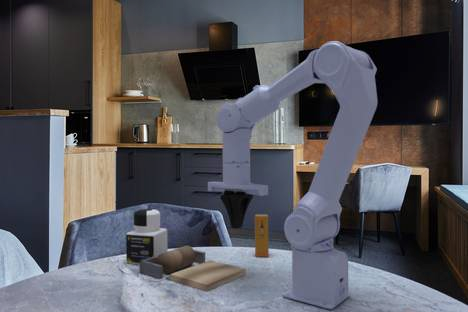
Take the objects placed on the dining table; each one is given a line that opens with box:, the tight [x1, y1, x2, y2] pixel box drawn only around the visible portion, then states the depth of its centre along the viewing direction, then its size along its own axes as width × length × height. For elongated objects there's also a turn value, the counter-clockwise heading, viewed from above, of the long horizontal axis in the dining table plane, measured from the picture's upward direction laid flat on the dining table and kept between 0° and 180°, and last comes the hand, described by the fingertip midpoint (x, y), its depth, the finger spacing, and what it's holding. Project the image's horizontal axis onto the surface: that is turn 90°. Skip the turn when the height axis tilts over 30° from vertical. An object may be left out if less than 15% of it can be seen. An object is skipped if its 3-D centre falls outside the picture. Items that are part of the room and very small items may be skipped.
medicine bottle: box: [125, 208, 168, 265], centre depth 93 cm, size 7×7×12 cm
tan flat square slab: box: [165, 260, 247, 292], centre depth 82 cm, size 11×12×1 cm
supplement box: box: [254, 213, 270, 258], centre depth 97 cm, size 3×3×10 cm
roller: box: [156, 245, 196, 275], centre depth 87 cm, size 4×8×4 cm
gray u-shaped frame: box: [138, 249, 206, 280], centre depth 88 cm, size 7×14×2 cm, turn 141°
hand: (236, 227), depth 83 cm, fingers closed
